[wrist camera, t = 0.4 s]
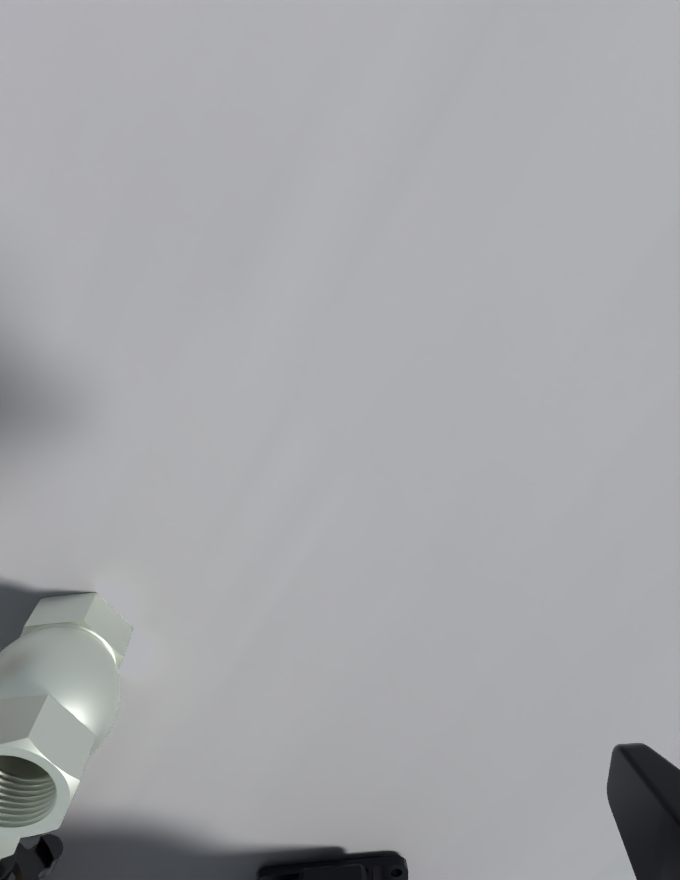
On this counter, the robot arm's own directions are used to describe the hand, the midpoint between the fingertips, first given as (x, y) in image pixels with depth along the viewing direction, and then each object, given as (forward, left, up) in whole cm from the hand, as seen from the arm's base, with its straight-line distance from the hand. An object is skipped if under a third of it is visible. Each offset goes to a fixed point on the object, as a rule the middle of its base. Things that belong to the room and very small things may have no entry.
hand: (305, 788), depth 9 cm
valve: (-10, +10, -13) cm, 19 cm away
